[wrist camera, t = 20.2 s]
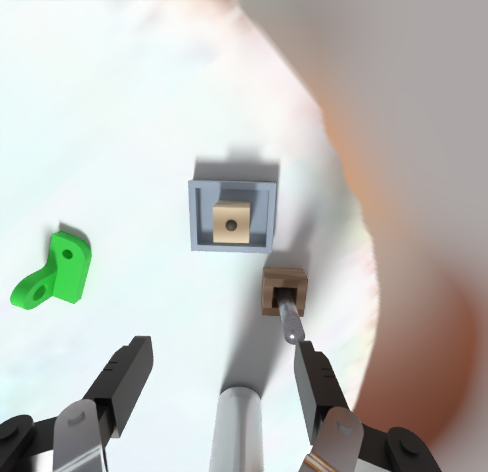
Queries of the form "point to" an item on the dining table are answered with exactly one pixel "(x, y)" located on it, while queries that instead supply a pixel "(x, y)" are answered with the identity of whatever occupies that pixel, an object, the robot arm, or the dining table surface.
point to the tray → (211, 191)
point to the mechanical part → (56, 274)
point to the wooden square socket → (283, 278)
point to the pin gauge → (289, 316)
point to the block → (231, 221)
